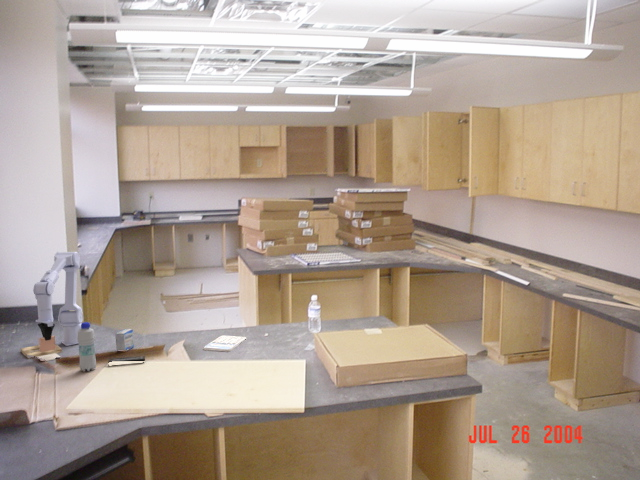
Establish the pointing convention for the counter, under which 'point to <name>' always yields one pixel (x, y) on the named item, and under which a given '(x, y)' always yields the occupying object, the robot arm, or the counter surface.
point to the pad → (49, 356)
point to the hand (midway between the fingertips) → (47, 339)
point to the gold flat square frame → (38, 351)
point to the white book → (224, 343)
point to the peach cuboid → (47, 344)
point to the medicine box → (124, 339)
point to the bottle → (86, 347)
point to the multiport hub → (128, 359)
